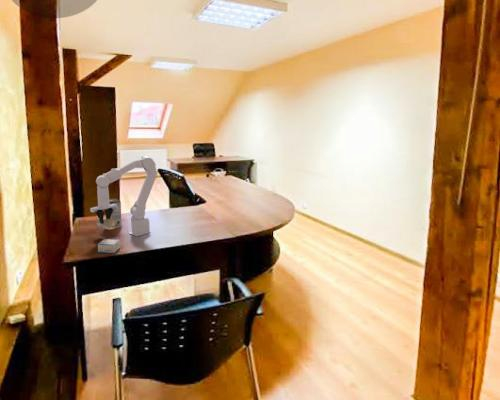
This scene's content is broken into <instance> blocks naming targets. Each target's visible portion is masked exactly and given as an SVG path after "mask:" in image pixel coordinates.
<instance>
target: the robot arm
mask: <svg viewBox="0 0 500 400" xmlns="http://www.w3.org/2000/svg"><path fill="white" fill-rule="evenodd" d="M135 168H137V169H144V171H145V173H146V177H145V179H144V182H143V184H142V186H141V188H140V189H141V190H140V192H139V194H138V197H137V200H136V201H135V202H134V205H132V206H131V208H130V211H129V212H130V214H131V215H132V216H131V217H130V220H131V221H130V222H131V231H129V232H128V234H130V235H132V236H135V237H139V236H142V235H147V234H151V230H150V220H149V218H148V217H147V216H146V212H145V211H146V209H147V208H146V207H147V206H146V205H147V201H148V199H149V197H150V194H151V191H152V189H153V186H154V184H155V181H156V178H157V176H158V173H157V165H156V162H155V161H154V159H153V158H152V157H150V156H146V155H143V156H141V157H138V158H136V159H134V160H132V161H131V162H129V163H127V164H125V165H124V166H122V167H120V168H114V167H113V168H111V169H110V171H108V172H106V173H102V175H101V174H100V175H99V176H97V178H96V180H95V183H96V185H97V186H96V189H97V191H96V193H97V206H93V207H90V208H89V212H91V213H95V214H96V216H97V217H98V218H97V219H99V220H100V223H101V224H103V223H104V219H103V218H104V216H105V218H106V219H110V218H111V215H112V213H113V209H112V208H117V204H110V203H109V199H110V191H109V185H110V184H112V183H114V182H115V181H118V180H120V179H121V178H122V176H123V175H124V174H126V173H128V172H130V171H132V170H134V169H135Z"/></svg>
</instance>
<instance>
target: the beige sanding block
mask: <svg viewBox="0 0 500 400" xmlns="http://www.w3.org/2000/svg"><path fill="white" fill-rule="evenodd" d="M103 219H104V223H103V224H101V223H100V220H99V218H96V225H97V229H103V230H114V229H116V228H115V226H114V219H106V217H105V218H104V217H103Z"/></svg>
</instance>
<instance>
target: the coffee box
mask: <svg viewBox="0 0 500 400" xmlns="http://www.w3.org/2000/svg"><path fill="white" fill-rule="evenodd" d="M109 203H110V204H117V208H112V209H113V213H112V215H111V218H110V219H114V226H115V228H114V229H117V228H122V226H123V225H122V203H121V200H119V199H117V198H109Z"/></svg>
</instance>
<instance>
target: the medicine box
mask: <svg viewBox="0 0 500 400" xmlns="http://www.w3.org/2000/svg"><path fill="white" fill-rule="evenodd" d="M120 248H121V239H119V238H117V239H116V238H103V240H101V241H100V242H99V243H97V253H107V254H114V253H116V252H117V251H118V250H119V249H120Z"/></svg>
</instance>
